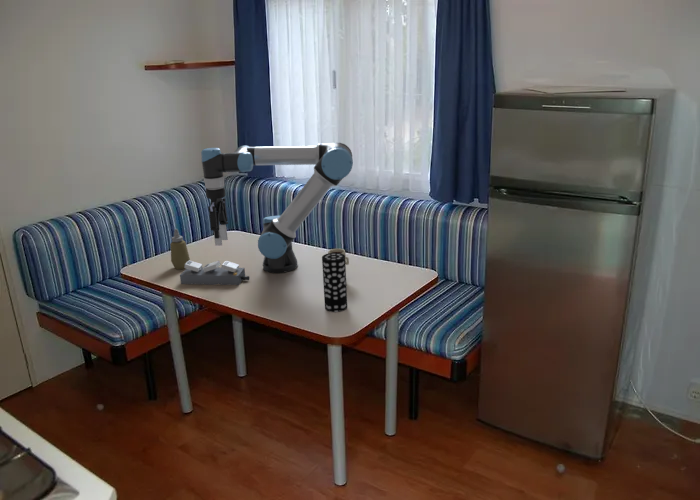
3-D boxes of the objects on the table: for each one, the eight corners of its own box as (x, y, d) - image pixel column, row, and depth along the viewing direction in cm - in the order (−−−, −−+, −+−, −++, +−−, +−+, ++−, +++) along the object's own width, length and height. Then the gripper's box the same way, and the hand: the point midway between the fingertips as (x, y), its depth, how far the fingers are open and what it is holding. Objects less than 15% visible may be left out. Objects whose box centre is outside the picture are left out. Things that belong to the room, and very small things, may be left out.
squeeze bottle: (185, 271, 257) (180, 232, 251) (169, 270, 259) (163, 231, 253) (193, 264, 265) (188, 226, 259) (177, 264, 266) (171, 226, 260)
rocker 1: (201, 268, 247) (202, 264, 247) (197, 272, 243) (198, 268, 242) (188, 263, 248) (189, 259, 247) (184, 267, 243) (185, 263, 243)
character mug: (353, 280, 240) (352, 250, 236) (345, 286, 234) (343, 256, 230) (331, 275, 245) (329, 246, 241) (322, 281, 240) (320, 252, 235)
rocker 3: (238, 268, 245) (239, 264, 245) (234, 272, 241) (235, 268, 240) (224, 264, 245) (225, 260, 245) (221, 268, 241) (222, 264, 240)
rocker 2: (220, 264, 246) (219, 260, 245) (217, 268, 241) (215, 264, 241) (208, 268, 247) (206, 264, 247) (204, 272, 243) (202, 268, 242)
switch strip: (252, 276, 248) (251, 265, 246) (245, 284, 240) (244, 273, 238) (189, 275, 252) (187, 264, 250) (181, 283, 244) (179, 272, 242)
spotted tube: (347, 302, 220) (344, 252, 214) (347, 311, 212) (345, 260, 206) (325, 303, 220) (322, 253, 213) (324, 312, 212) (321, 261, 206)
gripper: (214, 182, 241) (220, 235, 249) (197, 193, 224) (204, 250, 231) (231, 181, 240) (237, 235, 248) (215, 193, 223) (222, 250, 230)
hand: (221, 242), depth 240 cm, fingers open, 6 cm apart
